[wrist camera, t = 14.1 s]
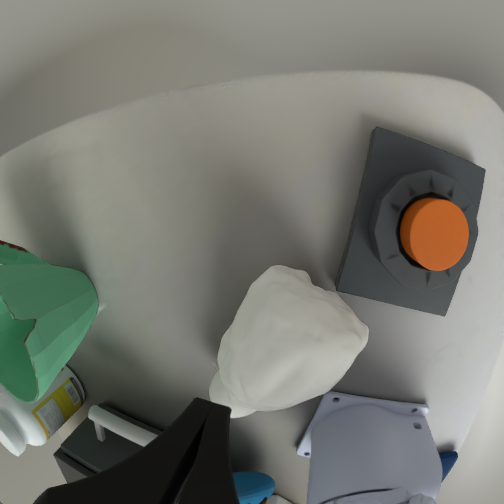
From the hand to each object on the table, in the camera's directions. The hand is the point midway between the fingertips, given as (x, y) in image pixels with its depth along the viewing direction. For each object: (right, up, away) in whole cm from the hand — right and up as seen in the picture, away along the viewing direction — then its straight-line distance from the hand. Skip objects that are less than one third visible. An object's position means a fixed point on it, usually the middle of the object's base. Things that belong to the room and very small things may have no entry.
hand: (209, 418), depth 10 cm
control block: (+12, +8, +7) cm, 16 cm away
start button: (+11, +7, +4) cm, 14 cm away
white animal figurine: (+3, +1, +10) cm, 11 cm away
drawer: (-9, -14, +15) cm, 23 cm away
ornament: (+1, -18, +13) cm, 22 cm away
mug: (-16, +4, +13) cm, 21 cm away
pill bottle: (-19, -8, +17) cm, 27 cm away
